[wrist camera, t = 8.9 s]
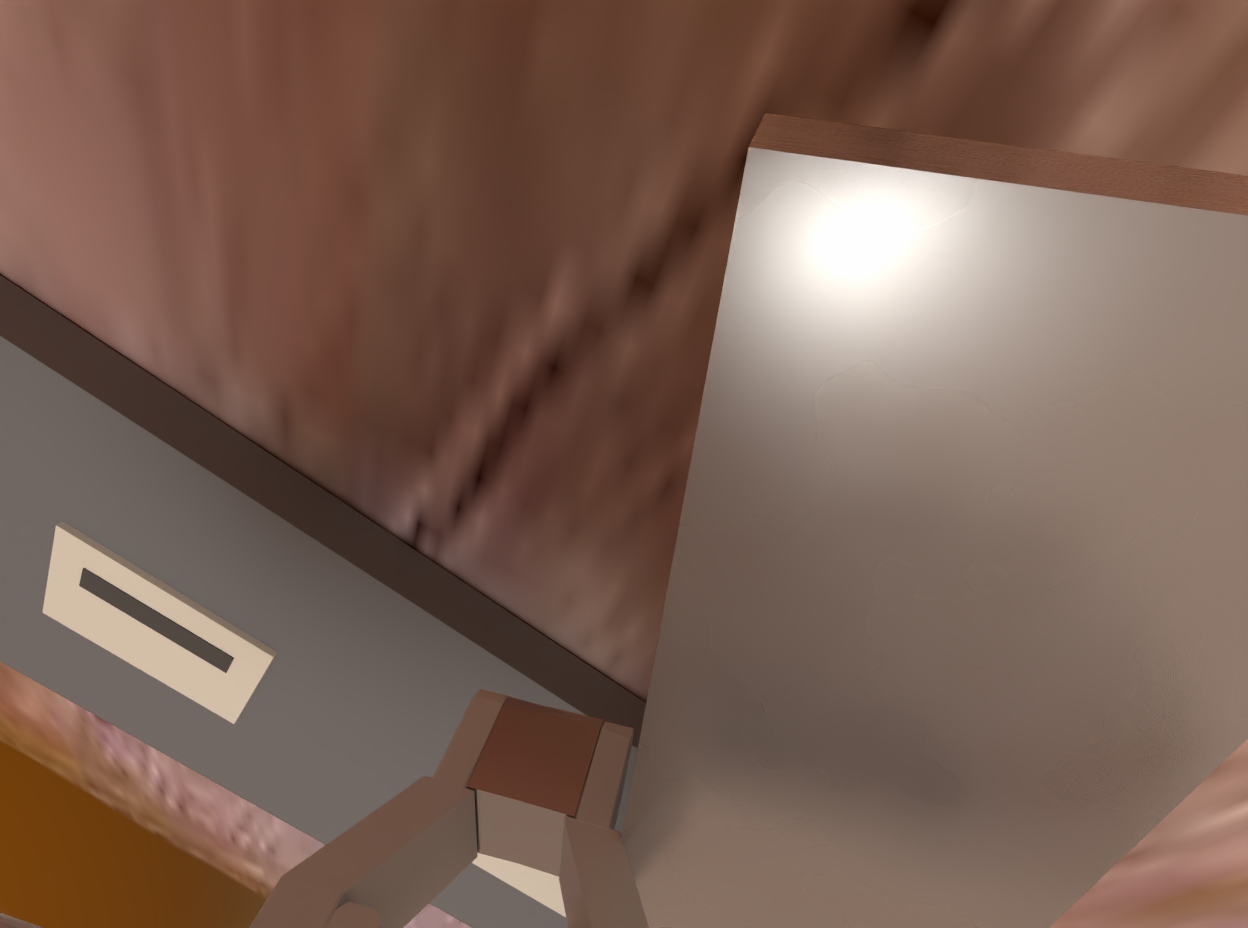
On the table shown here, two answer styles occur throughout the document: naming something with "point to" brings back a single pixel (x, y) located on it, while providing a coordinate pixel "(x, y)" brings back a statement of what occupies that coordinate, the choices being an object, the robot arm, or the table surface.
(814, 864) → the grey flat bar
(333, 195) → the table surface
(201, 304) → the table surface
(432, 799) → the robot arm
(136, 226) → the table surface
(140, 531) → the label board
